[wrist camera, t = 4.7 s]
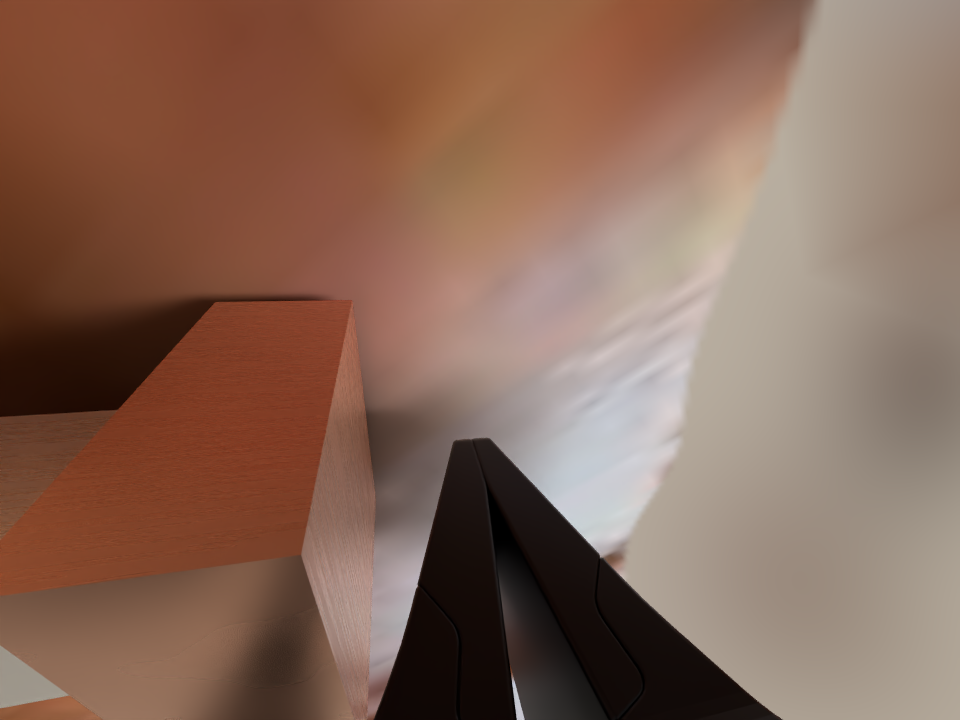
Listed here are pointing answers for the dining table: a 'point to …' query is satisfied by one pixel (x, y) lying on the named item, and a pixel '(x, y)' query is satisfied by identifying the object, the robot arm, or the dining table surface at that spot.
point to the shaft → (199, 531)
